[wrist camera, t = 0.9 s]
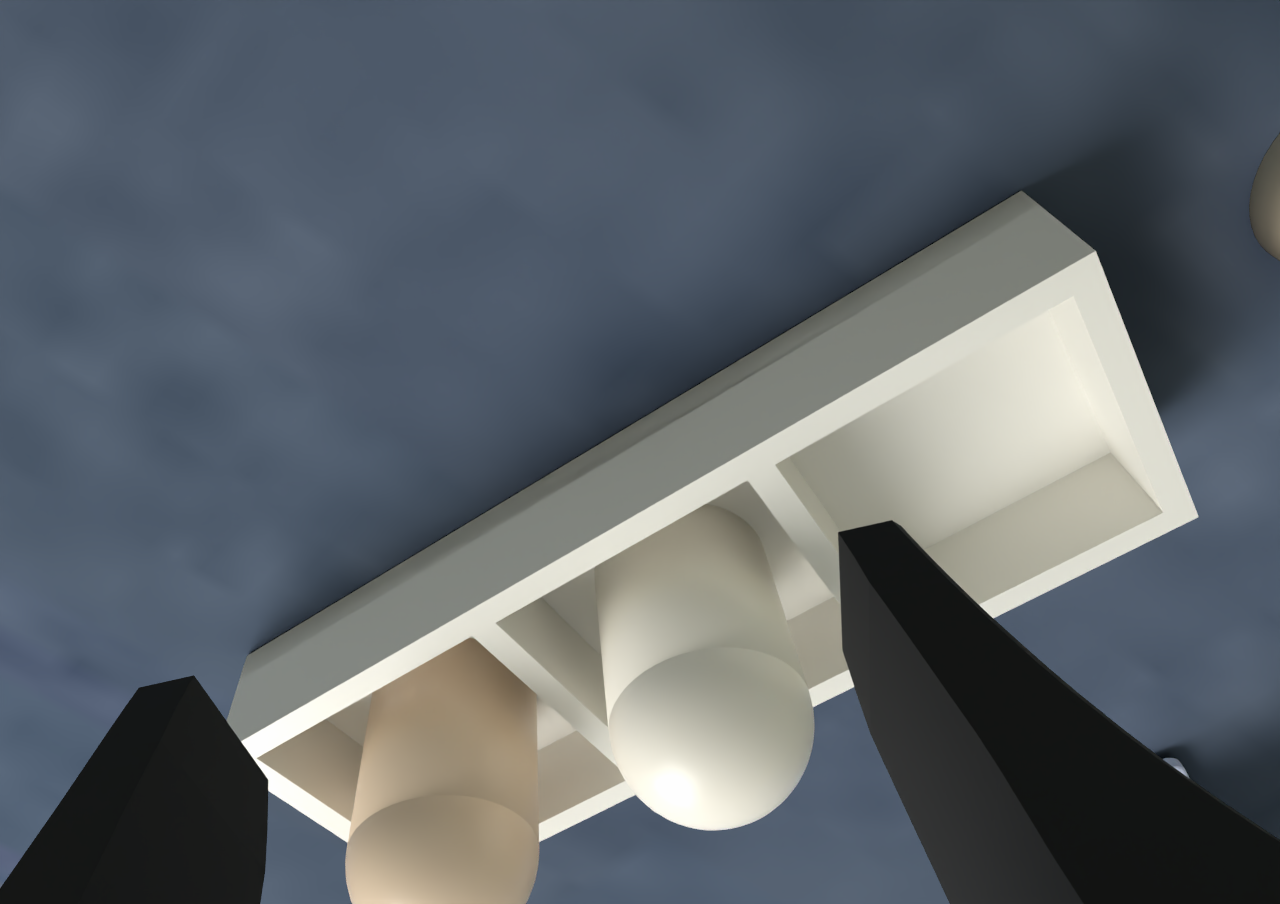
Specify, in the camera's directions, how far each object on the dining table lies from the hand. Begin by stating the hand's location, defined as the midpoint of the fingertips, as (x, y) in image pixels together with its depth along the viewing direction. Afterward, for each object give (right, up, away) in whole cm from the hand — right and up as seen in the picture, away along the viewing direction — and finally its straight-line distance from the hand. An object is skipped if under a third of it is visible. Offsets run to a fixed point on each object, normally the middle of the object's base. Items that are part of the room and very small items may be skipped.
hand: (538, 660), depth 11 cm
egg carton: (+2, 0, +12) cm, 12 cm away
